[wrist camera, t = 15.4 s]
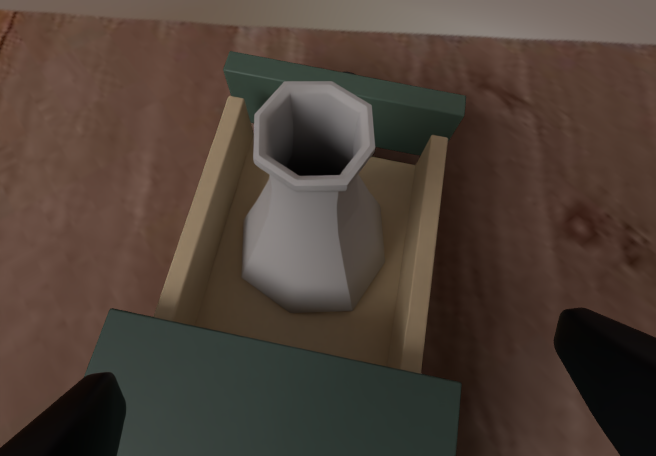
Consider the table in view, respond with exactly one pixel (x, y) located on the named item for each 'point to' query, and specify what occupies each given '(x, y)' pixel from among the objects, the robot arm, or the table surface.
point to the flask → (313, 200)
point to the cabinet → (265, 396)
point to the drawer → (381, 181)
